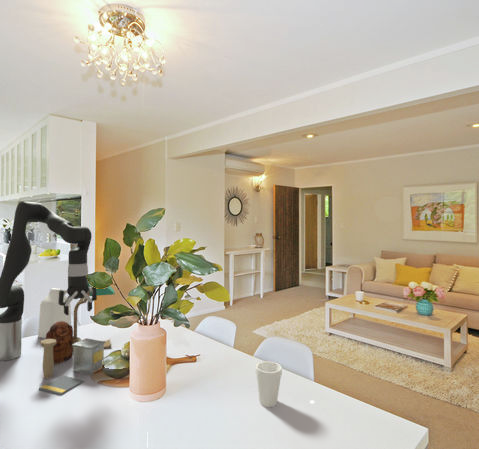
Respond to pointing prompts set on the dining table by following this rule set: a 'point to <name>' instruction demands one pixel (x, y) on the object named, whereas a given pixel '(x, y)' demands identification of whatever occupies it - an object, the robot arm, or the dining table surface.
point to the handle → (48, 357)
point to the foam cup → (268, 382)
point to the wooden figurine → (61, 341)
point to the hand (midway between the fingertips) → (78, 312)
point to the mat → (61, 385)
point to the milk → (52, 312)
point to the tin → (88, 356)
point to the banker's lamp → (99, 292)
